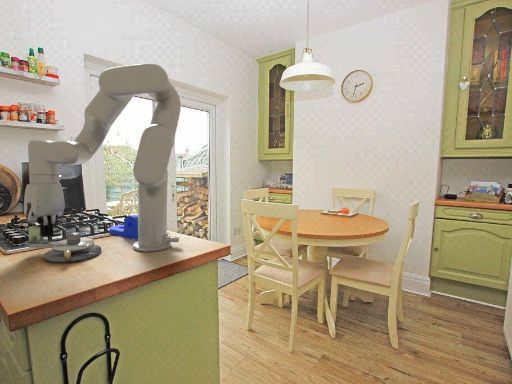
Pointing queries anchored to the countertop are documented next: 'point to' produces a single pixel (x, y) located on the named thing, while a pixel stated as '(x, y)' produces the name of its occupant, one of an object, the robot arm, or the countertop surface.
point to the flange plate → (70, 243)
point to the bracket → (127, 228)
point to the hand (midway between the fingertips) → (47, 235)
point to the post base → (72, 255)
